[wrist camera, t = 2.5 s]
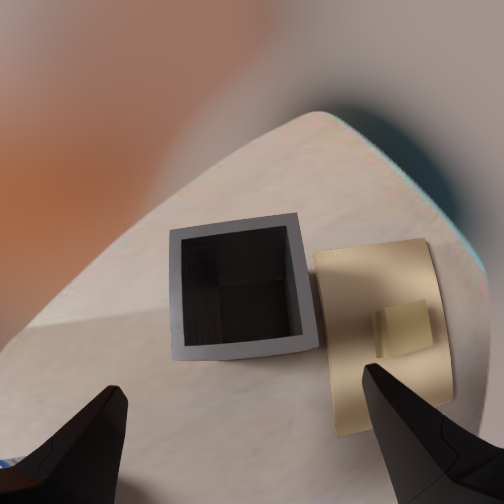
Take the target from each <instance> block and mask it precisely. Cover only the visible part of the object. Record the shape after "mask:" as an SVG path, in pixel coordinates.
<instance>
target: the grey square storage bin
mask: <svg viewBox="0 0 504 504" xmlns="http://www.w3.org/2000/svg"><path fill="white" fill-rule="evenodd" d="M276 280H284V287H285V294H286V302H287V309H288V317H289V324H290V332H291V337H283V338H275V339H267V340H258V341H249V342H239V343H228V344H223V339H222V328H221V315H220V302H219V288H218V287H227V286H235V285H244V284H252V283H260V282H268V281H276ZM169 297H170V327H171V346H172V360H173V361H221V360H235V359H246V358H256V357H265V356H274V355H282V354H290V353H297V352H302V351H306V350H310V349H313V348H316V347H319V340H318V333H317V326H316V319H315V313H314V306H313V300H312V293H311V287H310V281H309V275H308V269H307V264H306V258H305V253H304V247H303V242H302V236H301V231H300V226H299V221H298V216H297V213H289V214H281V215H273V216H265V217H257V218H250V219H242V220H235V221H228V222H221V223H214V224H207V225H200V226H193V227H187V228H180V229H174V230H170V239H169Z"/></svg>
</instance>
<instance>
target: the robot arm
mask: <svg viewBox="0 0 504 504" xmlns="http://www.w3.org/2000/svg"><path fill="white" fill-rule="evenodd" d="M362 387H363V391H364V395H365V399H366V403H367V408H368V412H369V416H370V420H371V423H372V426H373V429H374V432H375V435H376V437H377V440H378V443H379V446H380V449H381V452H382V454H383V457H384V460H385V463H386V466H387V469H388V472H389V475H390V478H391V481H392V485H393V488H394V491H395V494H396V497H397V501H398V504H504V449H503V448H499V447H496V446H494V445H492V444H490V443H488V442H486V441H484V440H482V439H481V438H479V437H477V436H475V435H474V434H472V433H470V432H468V431H467V430H465V429H463V428H462V427H460V426H459V425H457V424H456V423H455V422H453V421H452V420H450V419H449V418H448V417H446V416H445V415H443V414H442V413H441V412H440V411H438V410H437V409H436V408H434V407H433V406H432V405H431V404H429V403H428V402H427V401H425V400H424V399H423V398H421V397H420V396H419V395H418V394H416V393H415V392H414V391H412V390H411V389H410V388H408V387H407V386H406V385H405V384H403V383H402V382H401V381H399V380H398V379H397V378H395V377H394V376H393V375H392V374H390V373H389V372H388V371H386V370H385V369H384V368H383V367H381V366H380V365H379V364H377V363H370V364H366V365H365V366H364V370H363V376H362ZM127 411H128V400H127V397H126V396H125V394H124V393H123V391H122V390H121V388H120V387H119V386H116V385H109V386H107V387H106V388H105V389H104V390H103V391H102V392H101V393H99V394H98V395H97V396H96V397H95V398H94V399H93V400H92V401H91V402H89V403H88V404H87V405H86V406H85V407H84V408H83V409H82V410H81V411H79V412H78V413H77V414H76V415H75V416H74V417H73V418H72V419H71V420H69V421H68V422H67V423H66V424H65V425H64V426H63V427H62V428H60V429H59V430H58V431H57V432H56V433H55V434H54V435H53V436H51V437H50V438H49V439H48V440H47V441H46V442H45V443H44V444H42V445H41V446H40V447H39V448H37V449H36V450H35V451H33V452H32V453H31V454H29V455H28V456H27V457H25V458H24V459H22V460H21V461H20V462H18V463H17V464H15V465H14V466H11V467H8V468H0V504H114V499H115V492H116V485H117V478H118V472H119V466H120V460H121V455H122V449H123V444H124V439H125V431H126V420H127Z"/></svg>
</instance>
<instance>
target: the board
mask: <svg viewBox="0 0 504 504" xmlns="http://www.w3.org/2000/svg"><path fill="white" fill-rule="evenodd" d="M313 260H314V266H315V272H316V278H317V284H318V290H319V296H320V303H321V309H322V316H323V323H324V330H325V337H326V345H327V353H328V361H329V370H330V379H331V388H332V398H333V410H334V422H335V434H336V436H337V437H342V436H347V435H352V434H356V433H360V432H364V431H368V430H372V429H373V426H372V423H371V420H370V416H369V412H368V408H367V403H366V399H365V395H364V391H363V387H362V376H363V370H364V366H365V365H366V364H370V363H377V364H379V365H380V366H381V367H383V368H384V369H385V370H386V371H388V372H389V373H390V374H392V375H393V376H394V377H395V378H397V379H398V380H399V381H401V382H402V383H403V384H405V385H406V386H407V387H408V388H410V389H411V390H412V391H414V392H415V393H416V394H418V395H419V396H420V397H421V398H423V399H424V400H425V401H427V402H428V403H429V404H431V405H432V406H433V407H434V408H437V407H440V406H442V405H445V404H447V403H449V402H452V401H454V400H453V381H452V368H451V358H450V350H449V342H448V335H447V329H446V323H445V317H444V312H443V306H442V302H441V297H440V292H439V288H438V284H437V279H436V275H435V271H434V268H433V264H432V260H431V257H430V253H429V250H428V246H427V243H426V240H425V238H419V239H412V240H404V241H397V242H389V243H382V244H374V245H366V246H358V247H351V248H343V249H335V250H327V251H319V252H314V254H313Z"/></svg>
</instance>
